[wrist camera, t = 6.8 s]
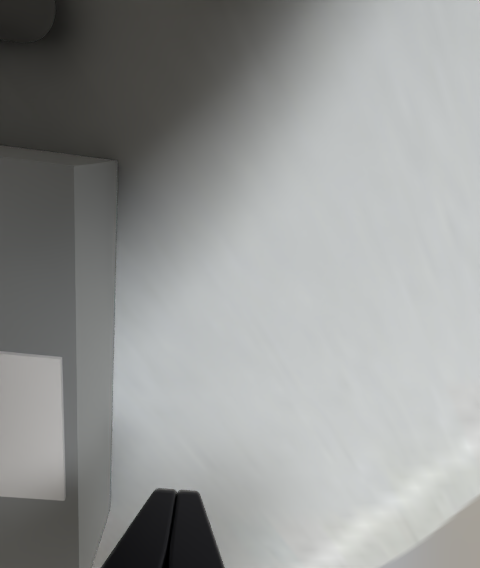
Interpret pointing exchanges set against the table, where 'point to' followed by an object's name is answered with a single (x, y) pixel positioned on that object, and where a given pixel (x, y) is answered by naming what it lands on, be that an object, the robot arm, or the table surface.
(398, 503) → the table surface
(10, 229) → the grey tray
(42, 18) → the grey rounded rod
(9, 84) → the table surface
